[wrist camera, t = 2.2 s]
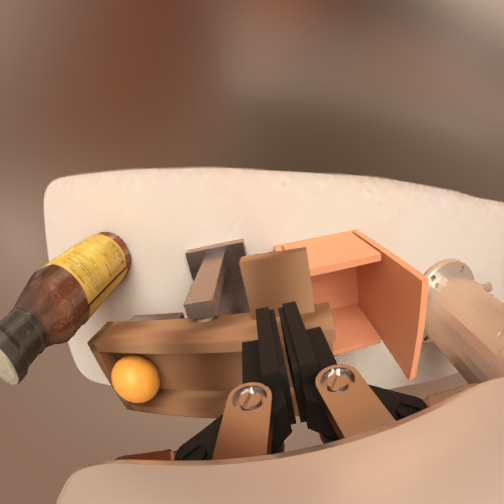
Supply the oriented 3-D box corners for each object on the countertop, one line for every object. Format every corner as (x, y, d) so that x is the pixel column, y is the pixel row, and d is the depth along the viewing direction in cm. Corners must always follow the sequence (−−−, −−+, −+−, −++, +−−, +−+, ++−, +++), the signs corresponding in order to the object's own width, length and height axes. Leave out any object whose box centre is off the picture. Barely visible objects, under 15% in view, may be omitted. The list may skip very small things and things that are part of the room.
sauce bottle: (89, 225, 28) (-43, 297, 9) (135, 236, 29) (12, 333, 10) (87, 276, 30) (-18, 372, 11) (131, 289, 30) (38, 409, 12)
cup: (356, 229, 29) (429, 278, 15) (361, 303, 31) (415, 378, 18) (274, 245, 29) (295, 313, 16) (287, 320, 32) (308, 410, 19)
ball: (154, 343, 20) (138, 376, 16) (171, 380, 21) (160, 413, 17) (114, 346, 20) (94, 376, 16) (133, 381, 21) (118, 411, 18)
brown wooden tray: (318, 233, 19) (329, 263, 13) (330, 363, 22) (337, 411, 17) (105, 268, 22) (66, 296, 17) (150, 372, 25) (127, 410, 20)
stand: (243, 238, 29) (240, 286, 18) (264, 334, 32) (271, 408, 21) (187, 250, 29) (154, 301, 18) (215, 342, 33) (204, 415, 21)
